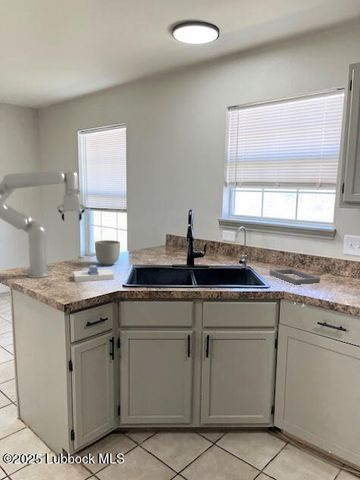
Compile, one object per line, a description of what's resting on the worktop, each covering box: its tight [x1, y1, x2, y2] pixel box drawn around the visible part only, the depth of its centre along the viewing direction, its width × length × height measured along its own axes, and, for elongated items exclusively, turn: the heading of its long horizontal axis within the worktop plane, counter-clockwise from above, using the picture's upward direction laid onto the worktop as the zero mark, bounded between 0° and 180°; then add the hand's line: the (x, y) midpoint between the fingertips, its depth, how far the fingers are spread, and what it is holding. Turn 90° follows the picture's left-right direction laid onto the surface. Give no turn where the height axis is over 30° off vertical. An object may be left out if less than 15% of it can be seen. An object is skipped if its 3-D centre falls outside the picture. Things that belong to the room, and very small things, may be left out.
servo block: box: [88, 264, 98, 275], centre depth 218 cm, size 11×4×7 cm, turn 20°
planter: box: [94, 239, 121, 267], centre depth 254 cm, size 17×17×16 cm
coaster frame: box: [269, 268, 321, 285], centre depth 225 cm, size 17×26×4 cm, turn 20°
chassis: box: [73, 269, 115, 283], centre depth 218 cm, size 22×13×3 cm, turn 110°
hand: (71, 220), depth 222 cm, fingers open, 9 cm apart
